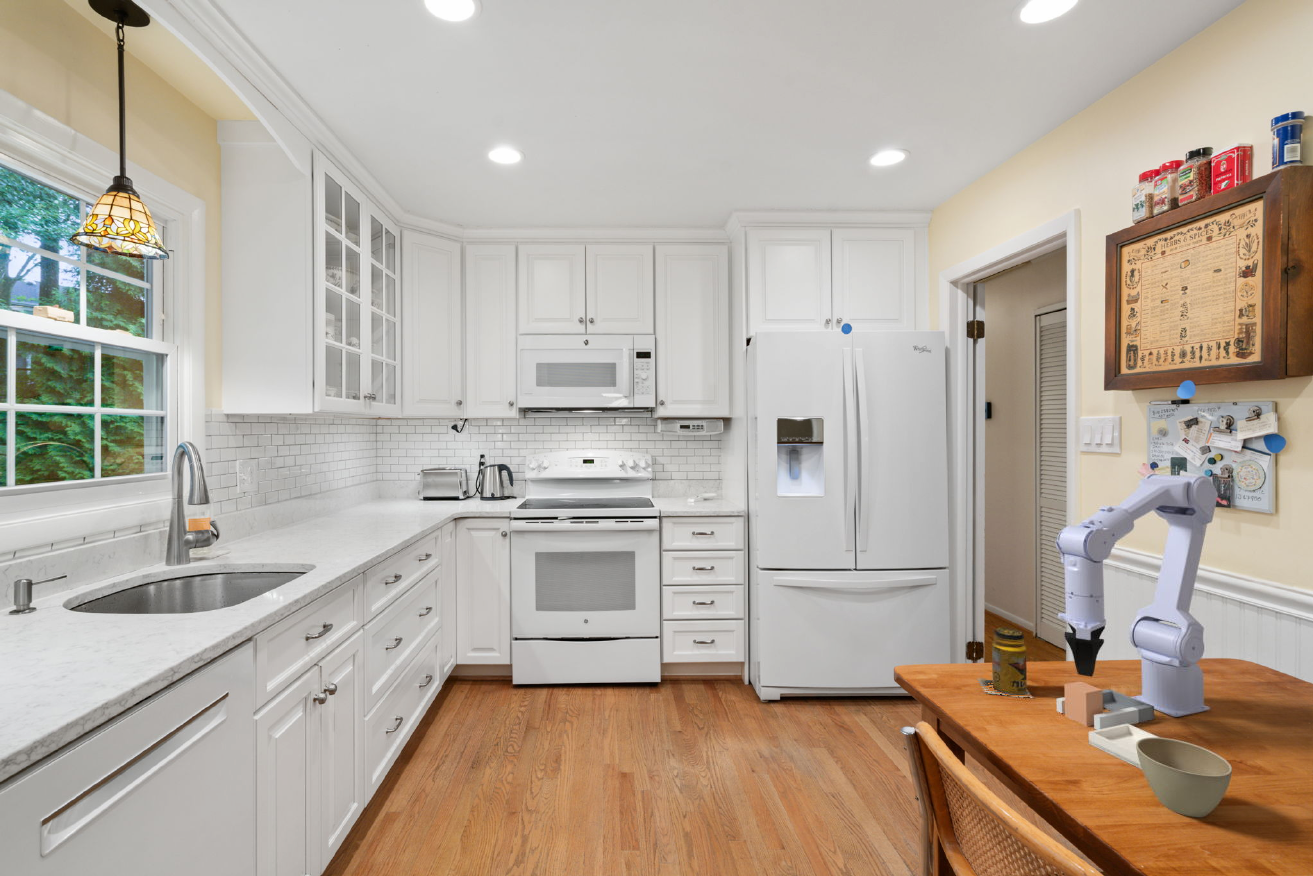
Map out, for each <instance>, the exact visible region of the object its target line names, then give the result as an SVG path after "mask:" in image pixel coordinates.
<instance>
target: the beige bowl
mask: <svg viewBox="0 0 1313 876" xmlns="http://www.w3.org/2000/svg"><path fill="white" fill-rule="evenodd" d="M1158 737H1159V736H1158ZM1158 737H1150V738H1143V739H1140V740H1139V741H1137V743H1136V749H1137V754H1138V758H1139V762H1140V765H1141V767H1142V769H1141V770H1142V772H1143V773H1142V774H1143V775H1144V776H1145V779H1146V781H1147V783H1148V785H1149V787H1150V789H1151V790H1152V792H1153V794H1155V797H1156V798H1157V799H1158V801H1159V802H1160V804H1162V805H1163V806H1164V807H1165V808H1167V809H1168V810H1171V811H1173V812H1175V813H1176V814H1177V813H1178V814H1179V815H1183V816H1185V817H1191V818H1204V817H1206V816H1208V815H1209V814H1210V813H1212V811H1214V810H1215V808H1216V807H1217V806H1218V805H1219V804H1220V803H1221V801H1222V799H1224V797H1225V794H1226V792H1227V790H1228V787H1229V785H1230V783H1231V779H1232V772H1233V767H1232V765H1231V764H1230V762H1229V761H1228V760H1227V759H1225V758H1224V757H1222V756H1220V755H1219V754H1217V753H1216V752H1213V751H1211V750H1209V749H1207V748H1205V747H1202V746H1200V745H1196V744H1194V743H1190V742H1186V741H1182V740H1178V739H1173V738H1167V737H1160V738H1158Z"/></svg>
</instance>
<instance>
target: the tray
mask: <svg viewBox="0 0 1313 876" xmlns="http://www.w3.org/2000/svg"><path fill="white" fill-rule="evenodd" d="M1150 737H1158V738H1161V737H1160V736H1158V735H1155V734H1152V733H1150V732H1149V731H1145V730H1143V729H1141V728H1138V727H1136V726H1134V725H1133V724H1131V725H1129V724H1123V725H1118V726H1113V727H1109V728H1104V729H1099V730H1096V729H1094V730H1091V731H1088V745H1091V746H1093V747H1095V748H1097V749H1099V750H1100V751H1102V752H1105V753H1107V754H1109V755H1111V756H1113V757H1115V758H1118V759H1119V760H1121V761H1124V762H1125V763H1128V764H1130V765H1132V766H1134V767H1136V768H1137V769H1139V770H1142V767H1141V765H1140V762H1139V758H1138V754H1137V749H1136V743H1137V741H1139V740H1140V739H1143V738H1150Z"/></svg>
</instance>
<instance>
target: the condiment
mask: <svg viewBox="0 0 1313 876" xmlns="http://www.w3.org/2000/svg"><path fill="white" fill-rule="evenodd" d="M993 633H994V634H993V641H992V643H991V653H992V654H991V657H992V658H991V662H992V666H991V667H992V674H991V675H992V679H986V678H977V681H978V683H979V685H980V686H981V689H982V691H983V692H984V693H985V692H988V693H987V694H991V695H998V696H999V695H1000V694H1002V693H1003V694H1002V695H1003V696H1006V695H1005V694H1009V695H1027V694H1028V695H1030V696H1029V697H1030V698H1029V699H1034V697H1033V696H1032V694H1031V693H1030V692H1029V690H1028V689H1027V686H1028V685H1027V684H1028V683H1027V681H1028V680H1027V679H1028V678H1027V677H1028V676H1027V674H1028V673H1027V671H1028V670H1027V647H1026V646H1025V645H1024V644H1025V641H1024V638H1025V635H1024V633H1023V632H1022V631H1020V630H1019V629H1015V628H1008V627H998V628H995V629H994V630H993ZM988 683H990V684H988ZM991 683H993V684H991ZM989 685H993V688H994V690H997V691H996V692H1002V693H995V691H994V690H993V691H986V690H990V689H985V688H986V687H982V686H989ZM983 688H984V689H983ZM989 688H992V687H989ZM984 690H985V691H984ZM1026 690H1027V691H1026ZM991 692H992V693H991ZM1028 695H1027V696H1028ZM1000 696H1001V695H1000ZM1027 696H1019V697H1018V696H1013V697H1014V698H1015V697H1017V698H1023V697H1027Z"/></svg>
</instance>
